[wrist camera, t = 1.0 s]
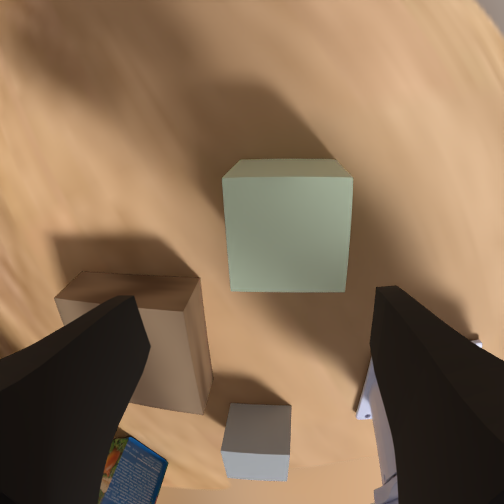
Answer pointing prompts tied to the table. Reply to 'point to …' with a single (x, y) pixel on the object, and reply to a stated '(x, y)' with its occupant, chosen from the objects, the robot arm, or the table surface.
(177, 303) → the walnut block
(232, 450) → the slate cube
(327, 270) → the sage cube
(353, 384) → the table surface
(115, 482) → the blue food package
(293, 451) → the table surface
